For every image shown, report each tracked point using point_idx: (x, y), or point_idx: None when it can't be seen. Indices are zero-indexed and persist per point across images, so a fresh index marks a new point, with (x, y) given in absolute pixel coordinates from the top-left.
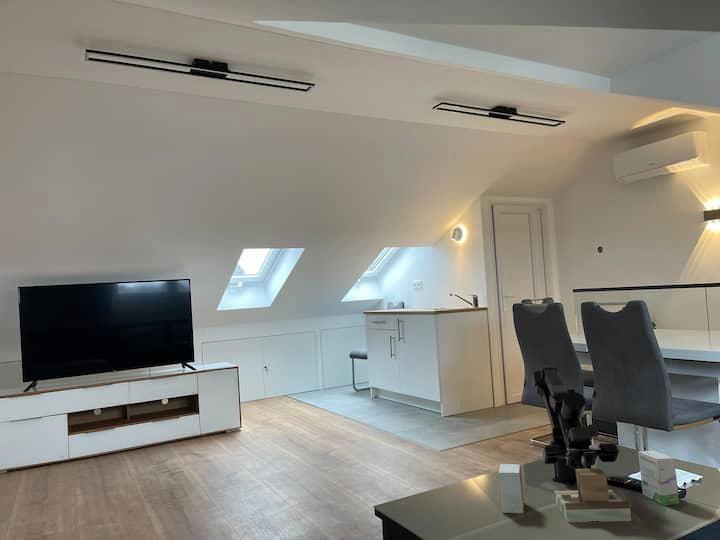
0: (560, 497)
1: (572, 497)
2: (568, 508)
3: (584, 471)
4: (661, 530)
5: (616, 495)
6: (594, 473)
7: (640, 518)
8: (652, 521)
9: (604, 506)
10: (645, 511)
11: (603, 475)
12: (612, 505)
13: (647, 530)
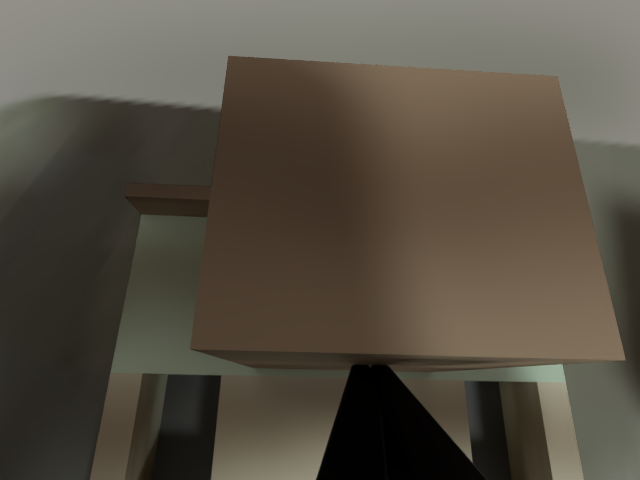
0: (562, 461)
1: (469, 452)
2: None
3: (492, 208)
4: (89, 124)
5: (100, 469)
6: (369, 109)
7: (100, 262)
8: (62, 219)
9: None
10: (4, 363)
11: (266, 69)
12: None
13: (151, 129)
